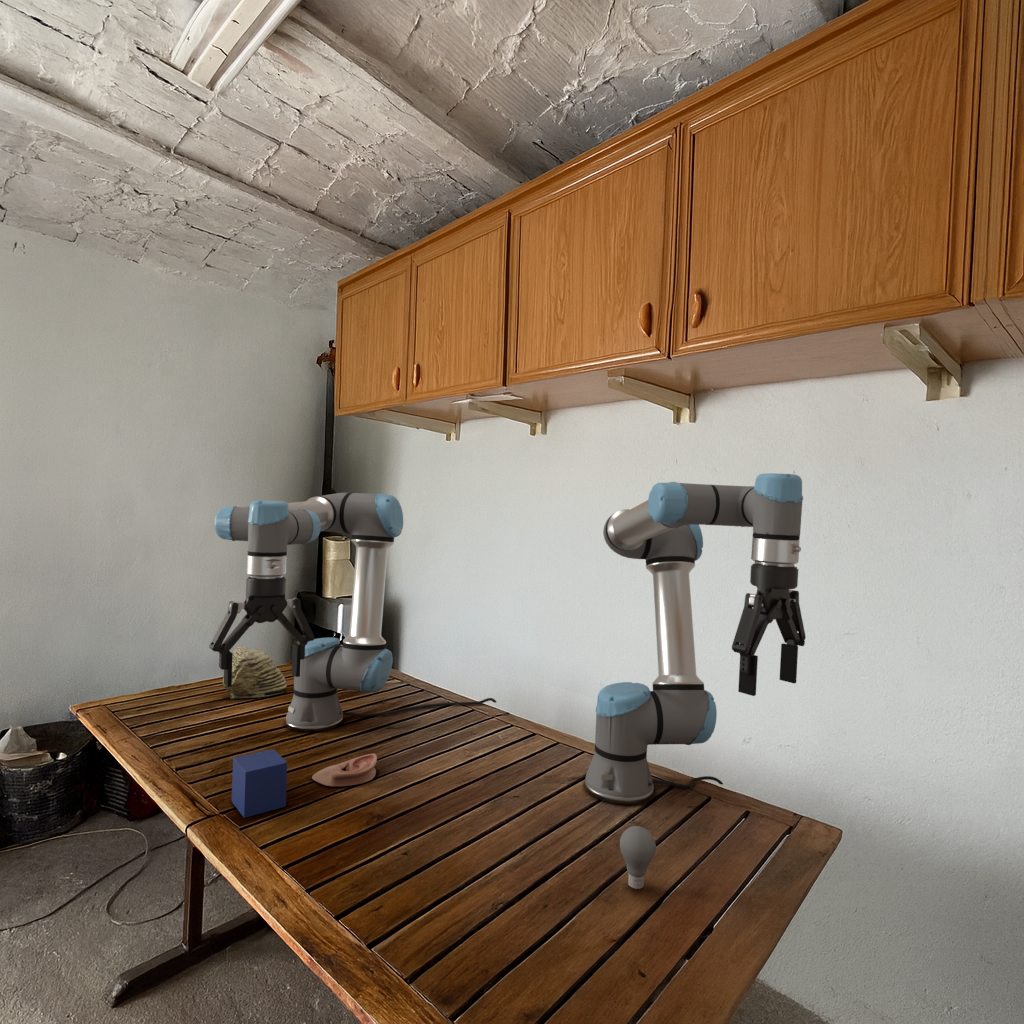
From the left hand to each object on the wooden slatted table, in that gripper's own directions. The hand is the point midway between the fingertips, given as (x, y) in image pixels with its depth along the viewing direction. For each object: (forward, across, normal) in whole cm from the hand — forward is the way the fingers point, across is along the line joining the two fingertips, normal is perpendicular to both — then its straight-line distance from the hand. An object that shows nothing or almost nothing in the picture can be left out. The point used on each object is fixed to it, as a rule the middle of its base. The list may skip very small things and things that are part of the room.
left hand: (262, 680), depth 129 cm
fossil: (+26, +21, +71) cm, 79 cm away
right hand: (-9, +60, -76) cm, 97 cm away
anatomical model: (+26, +20, +2) cm, 32 cm away
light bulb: (+26, +42, -64) cm, 81 cm away
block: (+26, 0, 0) cm, 26 cm away
